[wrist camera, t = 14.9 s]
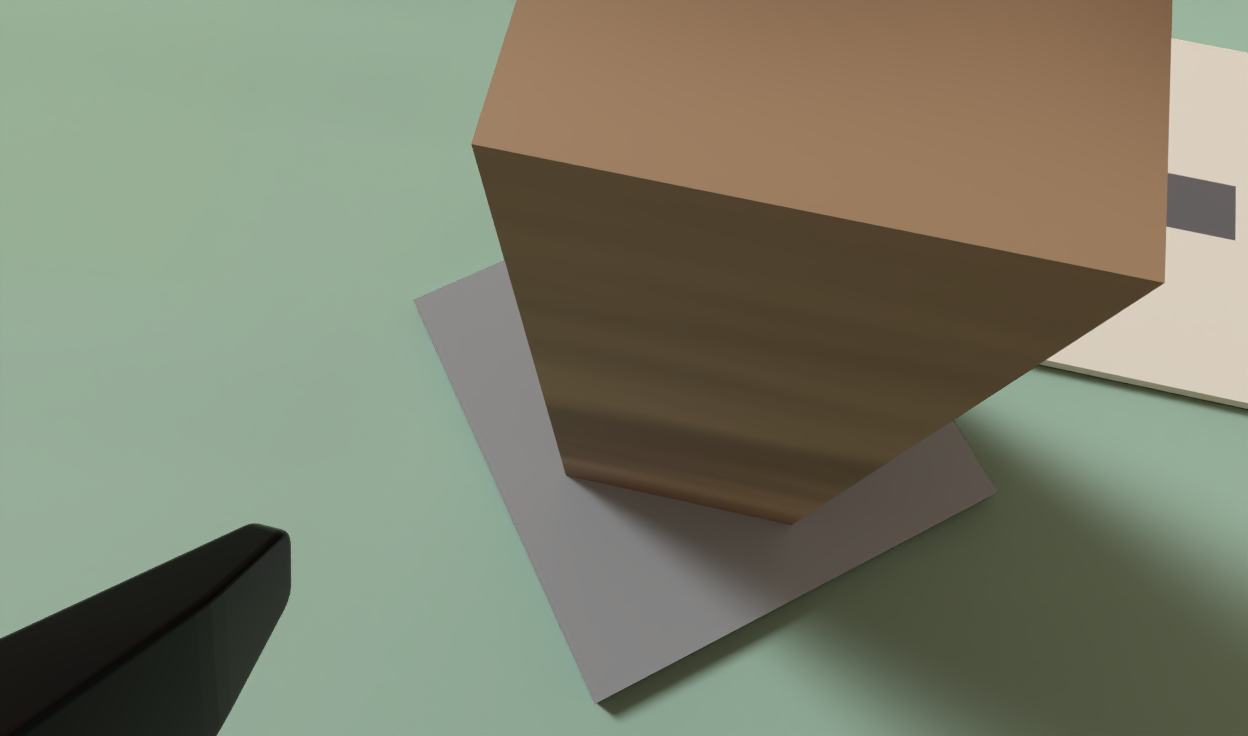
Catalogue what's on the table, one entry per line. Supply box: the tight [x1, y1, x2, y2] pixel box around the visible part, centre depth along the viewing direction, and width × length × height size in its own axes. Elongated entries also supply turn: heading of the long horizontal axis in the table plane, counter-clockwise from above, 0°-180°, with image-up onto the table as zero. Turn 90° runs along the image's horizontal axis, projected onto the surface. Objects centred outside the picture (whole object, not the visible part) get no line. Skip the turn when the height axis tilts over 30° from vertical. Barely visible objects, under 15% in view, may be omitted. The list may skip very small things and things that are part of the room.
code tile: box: [1040, 38, 1248, 409], centre depth 20 cm, size 9×9×1 cm
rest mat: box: [414, 260, 998, 704], centre depth 18 cm, size 9×9×1 cm
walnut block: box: [472, 0, 1172, 525], centre depth 12 cm, size 5×5×12 cm
